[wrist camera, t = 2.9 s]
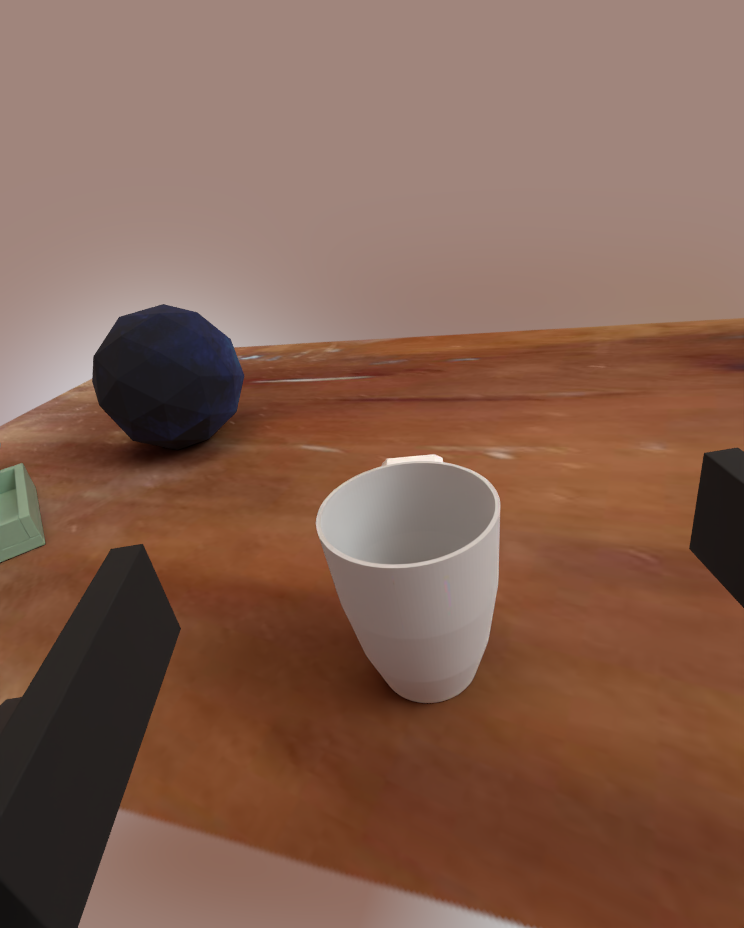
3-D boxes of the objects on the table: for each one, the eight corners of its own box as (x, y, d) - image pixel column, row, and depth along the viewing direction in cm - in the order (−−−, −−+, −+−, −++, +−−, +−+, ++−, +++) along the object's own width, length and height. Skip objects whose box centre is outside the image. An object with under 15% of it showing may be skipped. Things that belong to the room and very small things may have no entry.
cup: (519, 620, 31) (515, 466, 26) (489, 752, 24) (476, 581, 19) (385, 597, 34) (359, 456, 29) (327, 708, 27) (282, 552, 23)
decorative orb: (172, 362, 68) (81, 281, 55) (279, 356, 64) (208, 266, 51) (140, 468, 63) (32, 406, 50) (254, 469, 59) (168, 402, 45)
